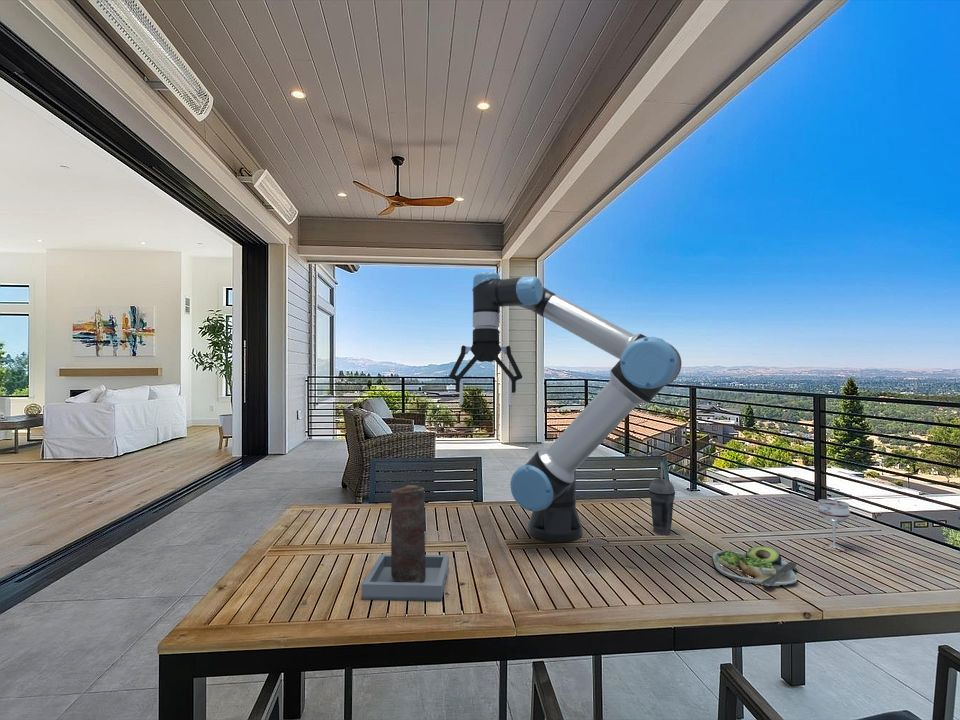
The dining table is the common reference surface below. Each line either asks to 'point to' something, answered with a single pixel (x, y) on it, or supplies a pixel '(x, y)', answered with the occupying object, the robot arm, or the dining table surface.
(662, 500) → the beverage cup
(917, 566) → the dining table surface
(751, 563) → the salad plate
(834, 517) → the wineglass
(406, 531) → the brown rough cylinder
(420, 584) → the tray
